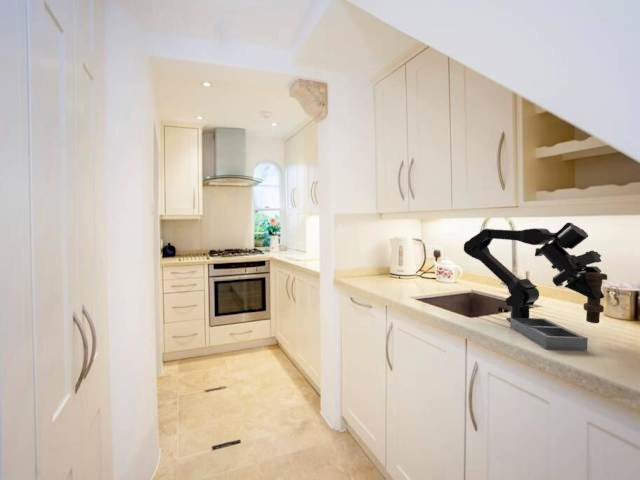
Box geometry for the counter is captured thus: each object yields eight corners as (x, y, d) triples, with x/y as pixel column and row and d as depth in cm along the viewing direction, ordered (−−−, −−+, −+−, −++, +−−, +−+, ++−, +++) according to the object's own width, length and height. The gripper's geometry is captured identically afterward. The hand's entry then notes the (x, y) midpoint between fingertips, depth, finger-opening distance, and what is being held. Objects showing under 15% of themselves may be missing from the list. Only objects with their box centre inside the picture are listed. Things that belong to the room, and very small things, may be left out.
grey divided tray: (510, 327, 112) (510, 317, 112) (544, 328, 111) (544, 318, 111) (545, 349, 92) (546, 337, 92) (587, 350, 91) (587, 338, 91)
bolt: (595, 320, 102) (597, 272, 101) (609, 324, 97) (612, 274, 96) (576, 319, 102) (579, 272, 101) (590, 324, 97) (592, 274, 96)
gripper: (565, 242, 97) (610, 285, 88) (595, 241, 106) (638, 280, 97) (536, 265, 104) (575, 307, 95) (566, 262, 113) (604, 301, 104)
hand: (599, 298), depth 97 cm, fingers closed on bolt, 4 cm apart
